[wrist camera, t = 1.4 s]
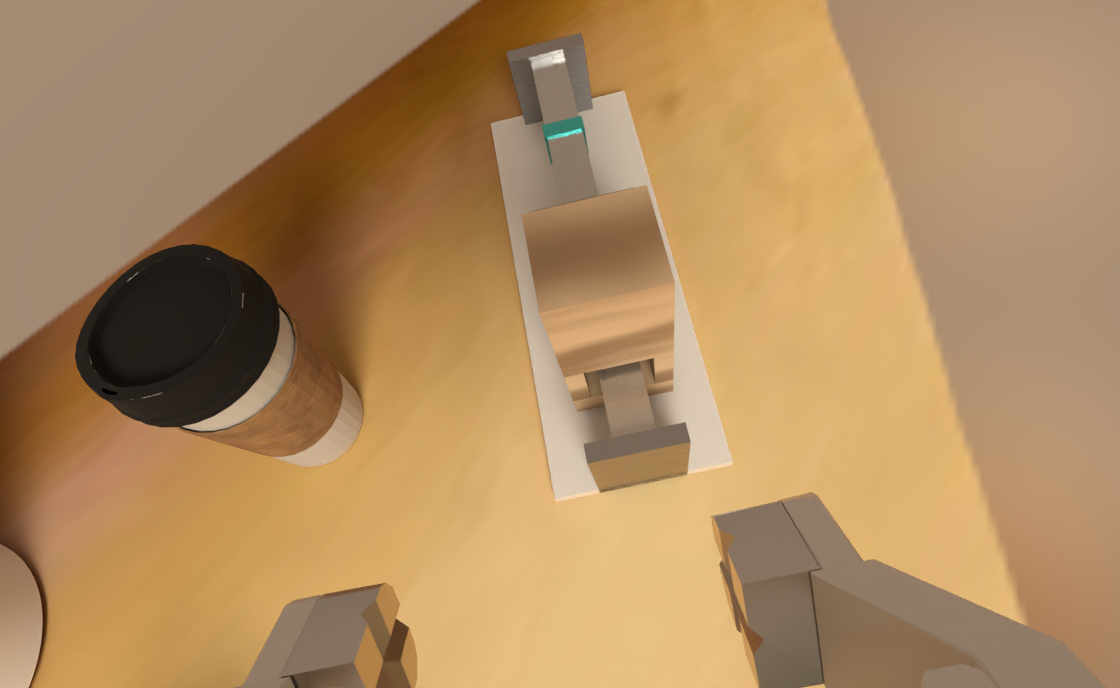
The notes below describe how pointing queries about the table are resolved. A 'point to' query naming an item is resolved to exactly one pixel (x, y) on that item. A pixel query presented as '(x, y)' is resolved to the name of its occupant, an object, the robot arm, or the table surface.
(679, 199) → the table surface
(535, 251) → the wooden slider block
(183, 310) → the coffee cup
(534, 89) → the sliding carriage track
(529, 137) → the board
